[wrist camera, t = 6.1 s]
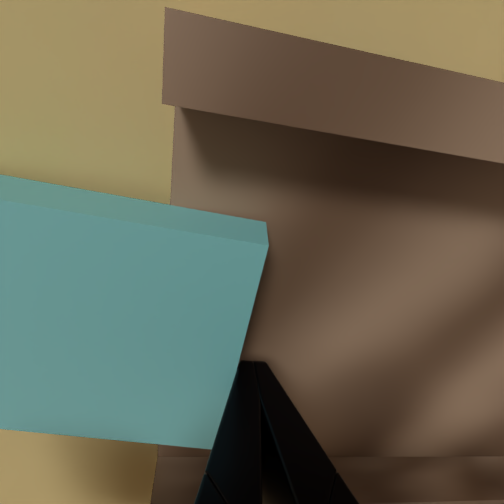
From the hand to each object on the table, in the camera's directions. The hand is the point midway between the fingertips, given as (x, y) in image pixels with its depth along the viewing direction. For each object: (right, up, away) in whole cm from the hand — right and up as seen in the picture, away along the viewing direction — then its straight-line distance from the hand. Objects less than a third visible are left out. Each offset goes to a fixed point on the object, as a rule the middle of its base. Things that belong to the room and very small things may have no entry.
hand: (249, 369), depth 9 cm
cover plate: (-4, +1, 0) cm, 4 cm away
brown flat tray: (+7, 0, +2) cm, 8 cm away
